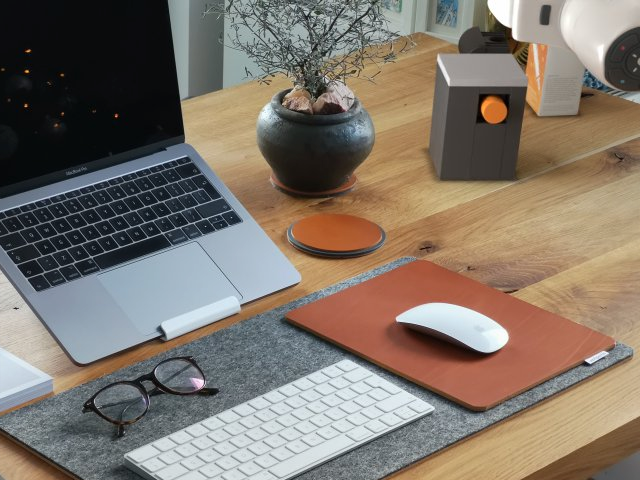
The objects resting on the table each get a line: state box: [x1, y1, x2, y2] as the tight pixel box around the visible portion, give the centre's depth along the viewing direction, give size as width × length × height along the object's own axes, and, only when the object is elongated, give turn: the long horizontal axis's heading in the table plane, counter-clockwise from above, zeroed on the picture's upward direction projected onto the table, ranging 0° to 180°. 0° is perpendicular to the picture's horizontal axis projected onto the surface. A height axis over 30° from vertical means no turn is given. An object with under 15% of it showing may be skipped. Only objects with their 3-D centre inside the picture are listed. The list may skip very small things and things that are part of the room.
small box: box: [525, 43, 586, 117], centre depth 167 cm, size 8×6×13 cm
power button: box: [480, 94, 507, 124], centre depth 143 cm, size 3×3×3 cm
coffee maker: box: [428, 53, 529, 181], centre depth 148 cm, size 10×10×14 cm
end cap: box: [457, 25, 511, 54], centre depth 181 cm, size 10×7×7 cm
